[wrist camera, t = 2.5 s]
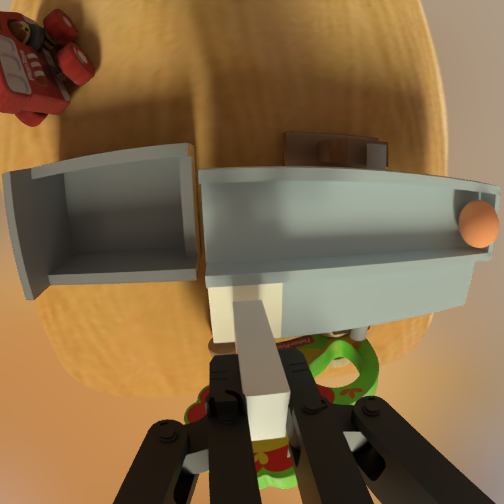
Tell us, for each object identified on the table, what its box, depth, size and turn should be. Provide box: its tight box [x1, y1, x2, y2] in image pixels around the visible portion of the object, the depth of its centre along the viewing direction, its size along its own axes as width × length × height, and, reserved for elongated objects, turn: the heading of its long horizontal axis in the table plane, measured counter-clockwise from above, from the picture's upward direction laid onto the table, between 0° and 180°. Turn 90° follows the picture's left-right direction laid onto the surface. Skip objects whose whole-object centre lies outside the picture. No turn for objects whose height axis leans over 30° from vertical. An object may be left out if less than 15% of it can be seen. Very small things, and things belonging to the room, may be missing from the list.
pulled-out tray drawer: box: [2, 143, 201, 300], centre depth 18 cm, size 9×12×8 cm
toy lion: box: [184, 332, 379, 489], centre depth 20 cm, size 16×5×15 cm, turn 101°
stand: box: [284, 132, 388, 335], centre depth 21 cm, size 15×8×6 cm, turn 1°
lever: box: [198, 144, 501, 343], centre depth 16 cm, size 13×20×3 cm, turn 91°
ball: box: [458, 200, 499, 248], centre depth 15 cm, size 3×3×3 cm
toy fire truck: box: [0, 9, 95, 127], centre depth 12 cm, size 7×12×10 cm, turn 28°
